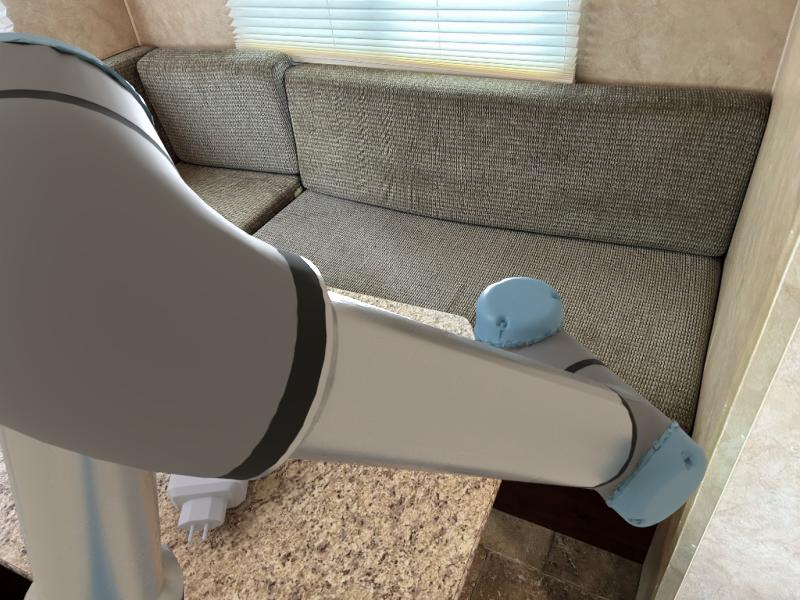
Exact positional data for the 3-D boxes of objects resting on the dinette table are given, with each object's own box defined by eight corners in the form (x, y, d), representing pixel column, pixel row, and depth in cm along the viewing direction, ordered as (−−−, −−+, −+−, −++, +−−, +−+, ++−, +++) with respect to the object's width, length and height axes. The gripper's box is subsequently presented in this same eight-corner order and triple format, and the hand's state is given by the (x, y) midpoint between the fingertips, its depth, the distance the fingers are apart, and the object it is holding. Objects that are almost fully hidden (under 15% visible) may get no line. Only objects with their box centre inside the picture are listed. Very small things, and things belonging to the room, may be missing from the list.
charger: (165, 556, 73) (190, 454, 85) (241, 547, 73) (255, 446, 85) (151, 535, 70) (179, 432, 82) (230, 526, 70) (246, 424, 82)
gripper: (398, 467, 62) (222, 401, 72) (457, 365, 73) (297, 319, 82) (390, 419, 58) (203, 356, 67) (454, 318, 68) (285, 275, 78)
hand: (255, 336), depth 75 cm, fingers closed on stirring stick, 3 cm apart
